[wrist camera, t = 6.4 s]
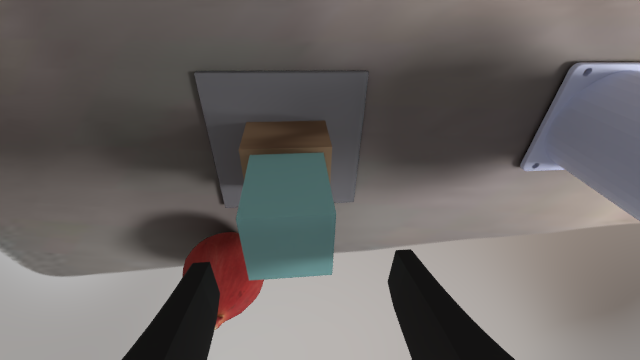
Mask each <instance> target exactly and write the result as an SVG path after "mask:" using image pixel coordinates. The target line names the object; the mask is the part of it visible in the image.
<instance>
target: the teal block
mask: <svg viewBox="0 0 640 360" xmlns="http://www.w3.org/2000/svg"><path fill="white" fill-rule="evenodd" d="M236 222H237V227H238V231H239V236H240V241H241V245H242V250H243V255H244V259H245V264H246V268H247V273H248V278H249V280H263V279H277V278H292V277H306V276H320V275H332V267H333V253H334V238H335V223H336V211H335V206H334V201H333V197H332V192H331V187H330V182H329V177H328V172H327V167H326V162H325V157H324V153H293V154H263V155H250V156H249V160H248V165H247V170H246V174H245V179H244V184H243V188H242V193H241V198H240V203H239V207H238V212H237V217H236Z"/></svg>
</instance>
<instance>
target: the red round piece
mask: <svg viewBox="0 0 640 360" xmlns="http://www.w3.org/2000/svg"><path fill="white" fill-rule="evenodd" d="M198 262H210V264H211V267H212V270H213V273H214V276H215V279H216V282H217V285H218V288H219V291H220V299H219V307H218V314H217V321H216V325H215V329H214V330H216V329H217V328H219V326H220V325H221V324H222V323H224V322H225V321H227V320H229V319H231V318H233V317H235V316H237V315H238V314H240V313H242V311H244V310H245V309H246V308H247V307H248V306H249V305H250V304H251V303H252V302H253V301H254V300H255V299H256V297H257V296H258V294H259V293H260V290H261V287H262V284H263V281H264V279H263V280H249V278H248V273H247V268H246V264H245V259H244V255H243V250H242V245H241V241H240V236H239V233H236V232H226V233H220V234H216V235H213V236H211V237H208V238H206V239H204V240H203V241H202V242H200V243H199V244H198V245H197V246H196V247H195V248H194V249H193V250H192V251H191V252H190V254H189V255H188V257H187V258H186V260H185V264H184V268H183V276H184V275H185V273H186V272H187V270H188V269H189V267H190V266H191V264H192V263H198Z"/></svg>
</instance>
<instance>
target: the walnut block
mask: <svg viewBox="0 0 640 360" xmlns="http://www.w3.org/2000/svg"><path fill="white" fill-rule="evenodd" d="M293 153H324V157H325V162H326V167H327V172H328V177H329V182H330V180H331V160H332V144H331V141H330V137H329V133H328V129H327V125H326V122H325V121H280V122H246V125H245V129H244V132H243V136H242V140H241V143H240V147H239V155H240V161H241V166H242V172H243V178H244V179H245V174H246V170H247V165H248V160H249V156H250V155H263V154H293Z"/></svg>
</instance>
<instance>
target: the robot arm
mask: <svg viewBox="0 0 640 360" xmlns="http://www.w3.org/2000/svg"><path fill="white" fill-rule="evenodd" d="M585 70H586V71H585ZM584 71H585V73H584ZM520 167H521V168H522V169H523V170H524V171H542V170H567V171H568V172H569V173H571V174H572V175H574V176H575V177H577V178H578V179H580V180H581V181H582V182H584V183H585V184H587V185H588V186H590V187H591V188H593V189H594V190H595V191H597V192H598V193H600V194H601V195H603V196H604V197H606V198H607V199H608V200H610V201H611V202H613V203H614V204H616V205H617V206H619V207H620V208H621V209H623V210H624V211H626V212H627V213H629V214H630V215H632V216H633V217H634V218H636V219H637V220H639V221H640V62H580V63H576V64H574V65H573V66H572V67H571V68H570V69H569V71H568V73H567V75H566V77H565V79H564V81H563V82H562V84H561V86H560V88H559V90H558V92H557V94H556V96H555V98H554V100H553V102H552V104H551V106H550V108H549V110H548V112H547V114H546V116H545V118H544V120H543V121H542V123H541V125H540V127H539V129H538V131H537V133H536V135H535V137H534V139H533V141H532V143H531V145H530V147H529V149H528V151H527V153H526V155H525V157H524V158H523V160H522V162H521V165H520ZM388 285H389V289H390V294H391V298H392V302H393V306H394V309H395V312H396V315H397V318H398V321H399V324H400V327H401V330H402V332H403V335H404V338H405V341H406V344H407V346H408V349H409V352H410V355H411V357H412V360H515V359H514V358H513V357H511V356H510V355H509V354H508V353H507V352H506V351H505V350H504V349H502V348H501V347H500V346H499V345H498V344H497V343H496V342H495V341H494V340H493V339H492V338H491V337H490V336H488V335H487V334H486V333H485V332H484V331H483V330H482V329H481V328H480V327H479V326H478V325H477V324H476V323H475V322H474V321H473V320H472V319H471V318H470V317H469V316H468V315H467V314H466V313H465V311H463V309H462V308H461V307H460V306H459V305H458V304H457V303H456V302H455V301H454V300H453V298H452V297H451V296H450V295H449V294H448V293H447V292H446V291H445V290H444V288H443V287H442V286H441V285H440V284H439V283H438V282H437V280H436V279H435V278H434V277H433V276H432V274H431V273H430V272H429V271H428V270H427V268H426V267H425V266H424V265H423V264H422V262H421V261H420V260H419V259H418V258H417V256H416V255H415V254H414V252H413V251H412V250H396V252H395V255H394V260H393V263H392V267H391V271H390V275H389V279H388ZM219 299H220V291H219V288H218V285H217V282H216V279H215V276H214V273H213V270H212V267H211V264H210V262H198V263H192V264H191V266H190V267H189V269H188V270H187V272H186V273H185V275H184V276H183V278H182V279H181V281H180V282H179V284H178V285H177V287H176V288H175V290H174V291H173V293H172V294H171V296H170V297H169V299H168V300H167V301H166V303H165V304H164V306H163V307H162V308H161V310H160V311H159V313H158V314H157V315H156V317H155V318H154V319H153V321H152V322H151V323H150V325H149V326H148V327H147V329H146V330H145V331H144V332H143V334H142V335H141V336H140V337H139V339H138V340H137V341H136V343H135V344H134V345H133V346H132V348H131V349H130V350H129V352H128V353H127V354H126V355H125V356H124V357H123V359H122V360H207V357H208V353H209V349H210V345H211V341H212V337H213V333H214V329H215V325H216V321H217V314H218V307H219Z"/></svg>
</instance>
